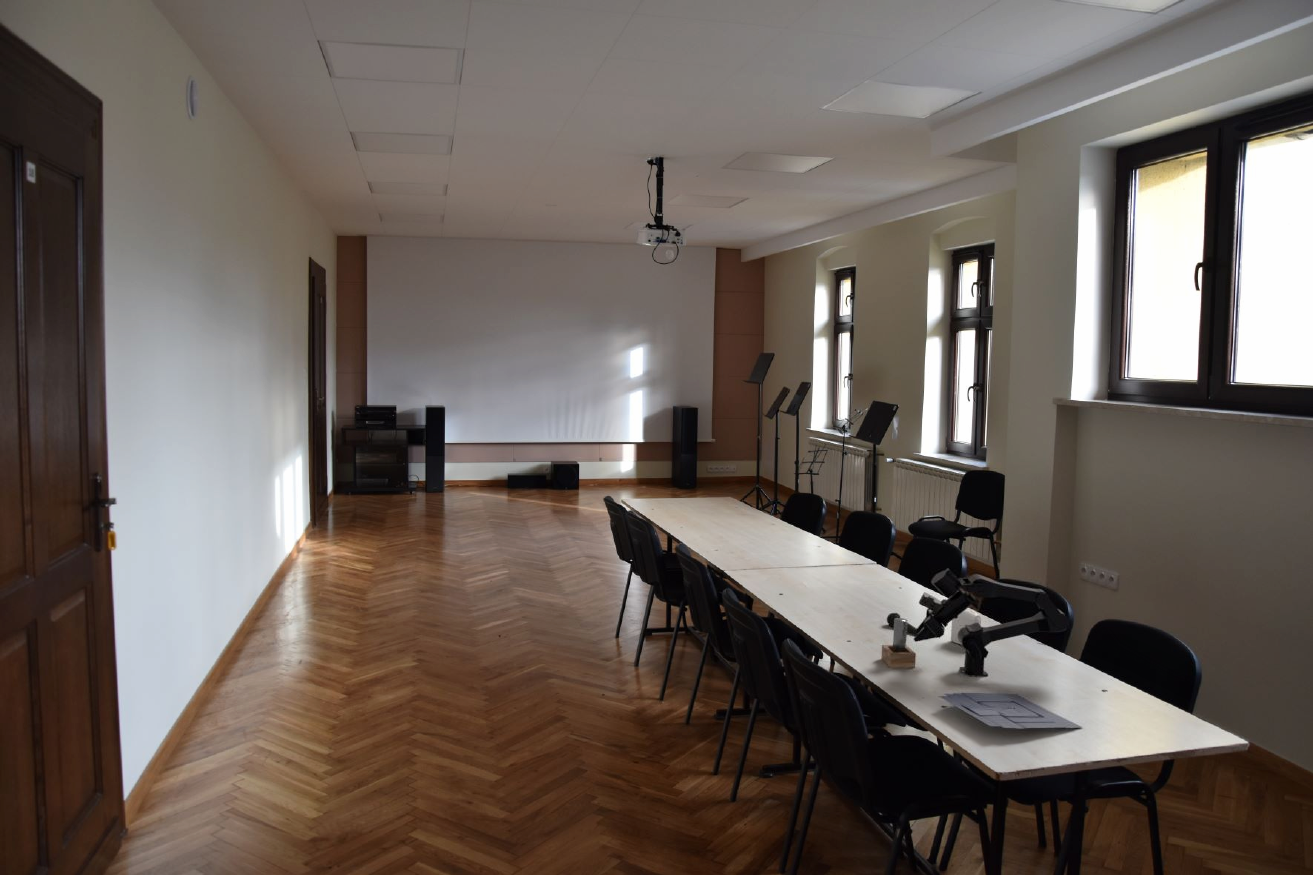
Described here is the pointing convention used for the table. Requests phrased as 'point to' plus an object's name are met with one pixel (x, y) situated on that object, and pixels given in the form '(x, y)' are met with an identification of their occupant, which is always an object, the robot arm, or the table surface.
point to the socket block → (898, 657)
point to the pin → (899, 635)
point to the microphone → (895, 615)
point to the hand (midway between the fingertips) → (915, 635)
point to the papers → (1007, 710)
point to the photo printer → (963, 623)
